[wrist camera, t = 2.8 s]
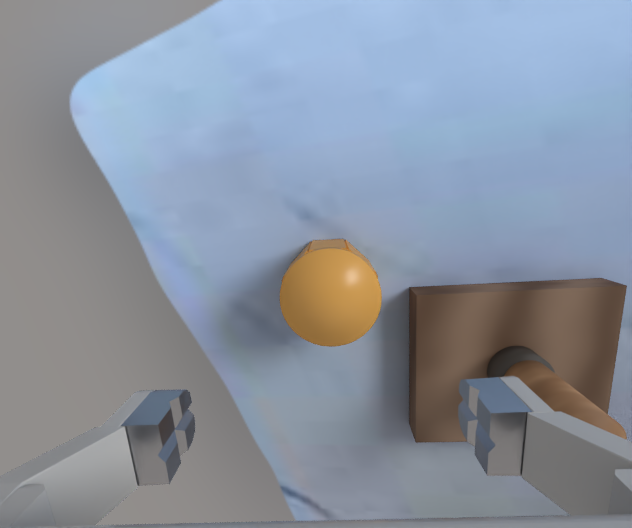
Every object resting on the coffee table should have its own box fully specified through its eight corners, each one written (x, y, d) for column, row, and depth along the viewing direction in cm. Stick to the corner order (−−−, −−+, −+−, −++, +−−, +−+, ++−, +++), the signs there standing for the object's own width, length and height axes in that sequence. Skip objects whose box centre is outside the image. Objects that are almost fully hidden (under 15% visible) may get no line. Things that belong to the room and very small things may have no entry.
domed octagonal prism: (369, 235, 23) (380, 246, 18) (371, 314, 24) (382, 344, 20) (286, 240, 23) (275, 252, 19) (293, 318, 25) (284, 348, 20)
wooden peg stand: (601, 278, 23) (769, 328, 14) (583, 420, 26) (715, 537, 17) (409, 287, 24) (456, 340, 15) (409, 424, 26) (449, 538, 18)
